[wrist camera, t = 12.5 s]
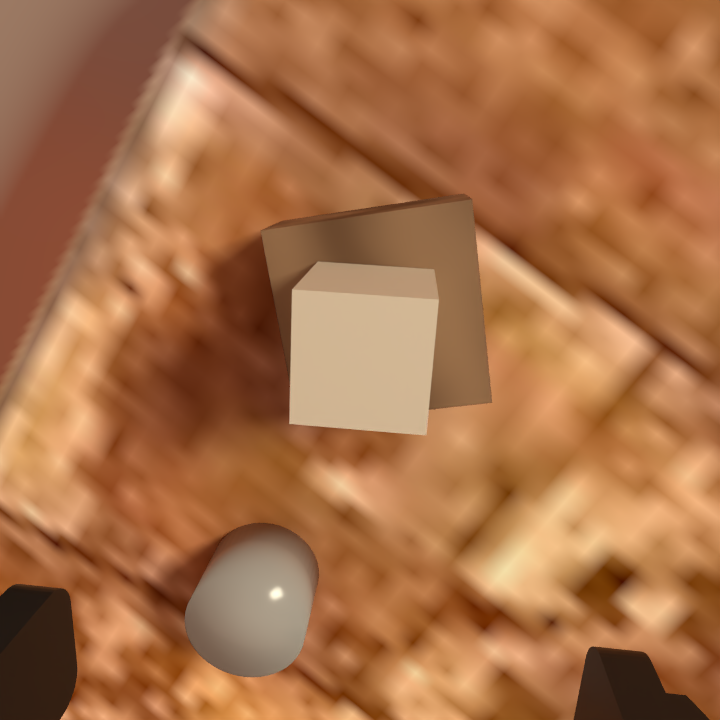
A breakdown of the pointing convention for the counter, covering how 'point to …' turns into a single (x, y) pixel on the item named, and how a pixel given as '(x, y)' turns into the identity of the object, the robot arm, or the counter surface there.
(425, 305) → the cream block
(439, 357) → the walnut block
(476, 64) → the counter surface
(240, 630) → the grey rounded capsule
